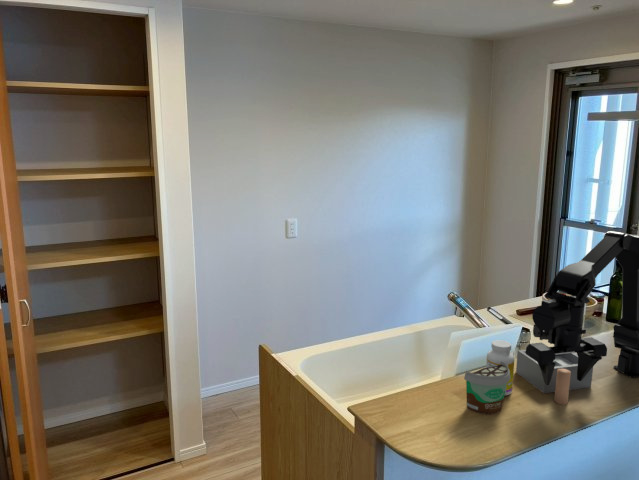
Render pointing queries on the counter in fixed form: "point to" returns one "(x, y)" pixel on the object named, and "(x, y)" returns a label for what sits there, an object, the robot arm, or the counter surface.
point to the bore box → (562, 361)
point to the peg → (562, 386)
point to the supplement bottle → (502, 359)
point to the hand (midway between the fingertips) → (563, 382)
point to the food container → (487, 389)
